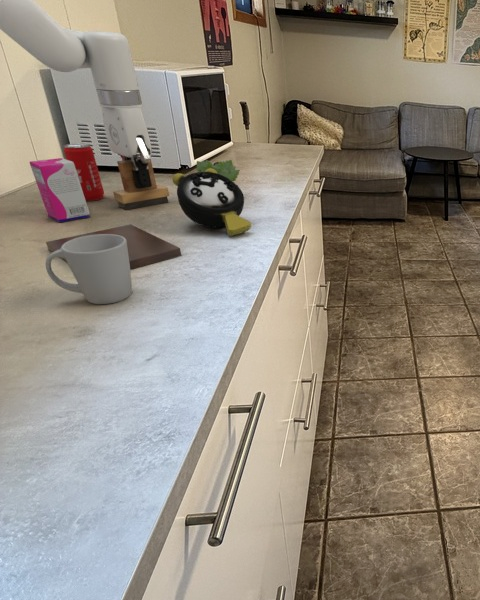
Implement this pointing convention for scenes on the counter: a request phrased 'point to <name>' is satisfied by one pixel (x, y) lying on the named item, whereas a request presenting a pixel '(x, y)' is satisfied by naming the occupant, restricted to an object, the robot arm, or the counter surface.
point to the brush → (135, 196)
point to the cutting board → (132, 245)
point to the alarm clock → (211, 200)
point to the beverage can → (85, 170)
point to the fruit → (219, 168)
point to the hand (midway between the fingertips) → (140, 185)
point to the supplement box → (60, 189)
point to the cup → (96, 267)
